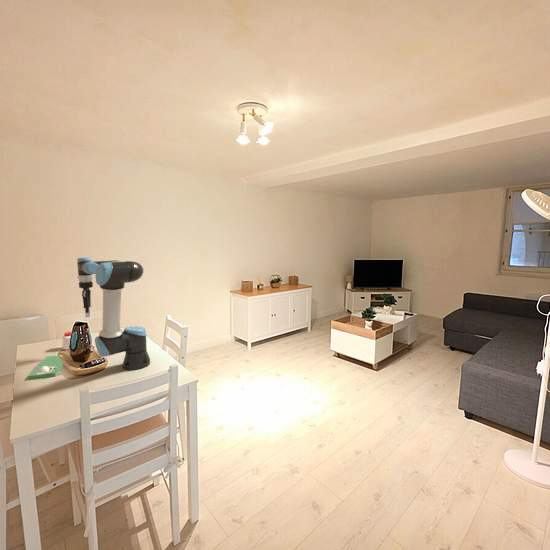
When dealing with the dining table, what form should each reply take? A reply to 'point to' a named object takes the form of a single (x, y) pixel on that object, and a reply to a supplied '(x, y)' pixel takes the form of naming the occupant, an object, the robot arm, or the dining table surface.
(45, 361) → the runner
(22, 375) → the dining table surface
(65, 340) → the pill bottle
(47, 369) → the ball
